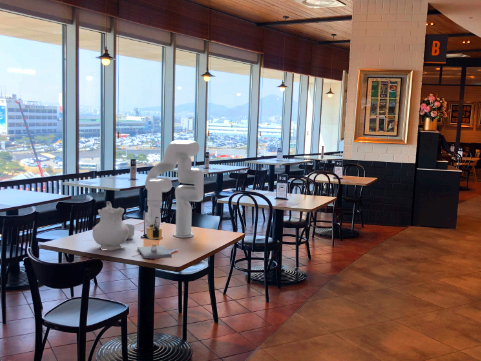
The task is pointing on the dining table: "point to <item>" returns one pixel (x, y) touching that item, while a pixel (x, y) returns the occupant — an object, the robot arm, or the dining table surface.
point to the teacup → (130, 230)
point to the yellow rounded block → (150, 233)
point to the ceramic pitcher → (110, 228)
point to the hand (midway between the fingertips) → (154, 235)
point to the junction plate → (154, 251)
